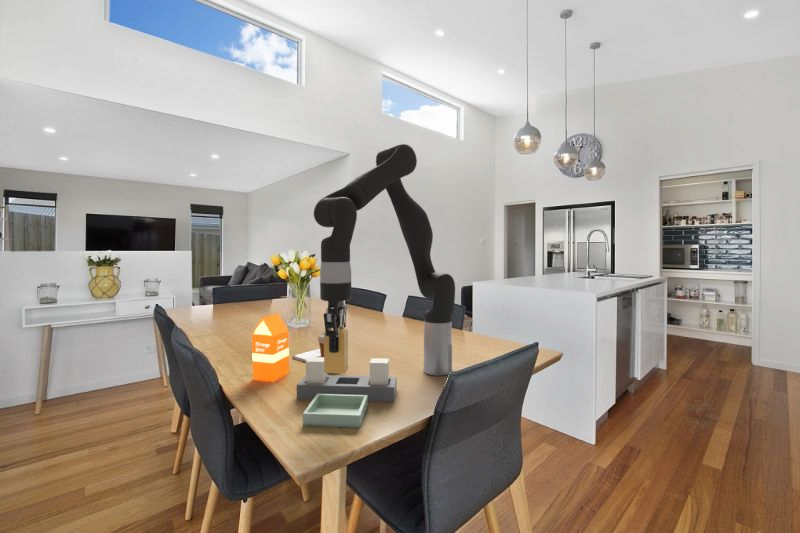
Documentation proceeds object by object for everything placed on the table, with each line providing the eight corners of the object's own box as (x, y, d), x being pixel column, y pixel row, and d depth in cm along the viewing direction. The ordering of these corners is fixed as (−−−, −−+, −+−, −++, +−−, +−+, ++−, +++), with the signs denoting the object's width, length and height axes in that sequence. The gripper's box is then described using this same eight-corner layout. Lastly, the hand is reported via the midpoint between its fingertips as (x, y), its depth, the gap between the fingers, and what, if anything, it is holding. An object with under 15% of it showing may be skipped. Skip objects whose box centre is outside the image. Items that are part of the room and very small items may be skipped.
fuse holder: (396, 390, 108) (396, 376, 107) (394, 401, 100) (394, 387, 99) (306, 387, 110) (306, 374, 109) (296, 399, 102) (296, 384, 101)
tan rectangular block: (348, 367, 93) (347, 328, 92) (344, 373, 89) (344, 332, 88) (328, 367, 93) (328, 328, 93) (324, 372, 89) (323, 331, 89)
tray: (367, 406, 97) (367, 395, 97) (360, 428, 85) (360, 415, 85) (317, 404, 98) (317, 393, 98) (302, 426, 86) (302, 413, 86)
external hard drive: (292, 359, 139) (318, 352, 148) (305, 364, 133) (332, 355, 143) (292, 355, 138) (318, 348, 148) (305, 359, 133) (332, 351, 143)
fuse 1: (327, 391, 107) (327, 357, 106) (323, 396, 103) (323, 361, 102) (310, 390, 107) (310, 357, 107) (306, 396, 103) (305, 361, 103)
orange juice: (289, 372, 123) (288, 313, 122) (273, 382, 114) (272, 318, 113) (269, 370, 125) (268, 312, 124) (252, 379, 116) (250, 317, 115)
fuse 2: (389, 392, 106) (388, 358, 105) (387, 398, 102) (387, 363, 101) (371, 392, 106) (371, 358, 106) (369, 398, 102) (369, 362, 102)
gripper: (344, 283, 82) (345, 358, 83) (356, 277, 97) (356, 342, 98) (311, 283, 83) (312, 358, 84) (328, 277, 97) (329, 341, 98)
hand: (336, 349), depth 91 cm, fingers closed on tan rectangular block, 4 cm apart
